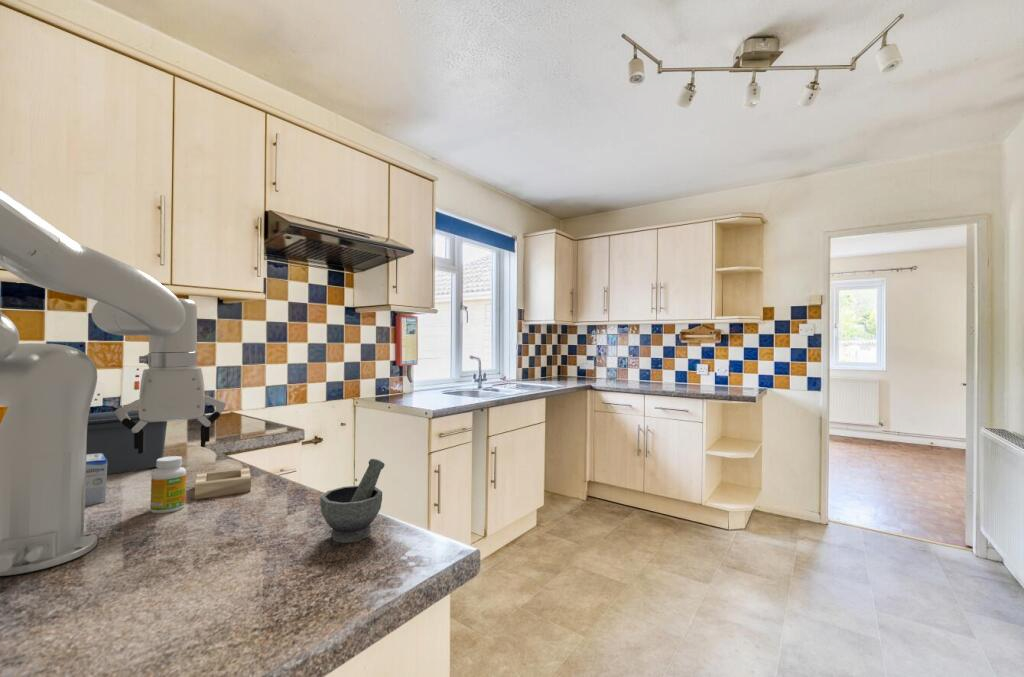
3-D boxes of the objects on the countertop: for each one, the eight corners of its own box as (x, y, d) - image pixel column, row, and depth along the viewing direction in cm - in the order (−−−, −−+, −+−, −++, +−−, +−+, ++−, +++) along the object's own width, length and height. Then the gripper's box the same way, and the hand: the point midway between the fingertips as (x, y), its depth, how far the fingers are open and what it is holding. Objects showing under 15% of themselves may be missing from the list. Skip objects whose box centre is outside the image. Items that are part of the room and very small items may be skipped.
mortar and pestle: (342, 553, 70) (343, 475, 70) (308, 537, 75) (310, 465, 75) (398, 529, 79) (400, 460, 79) (365, 517, 84) (366, 452, 85)
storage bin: (60, 486, 101) (62, 421, 101) (51, 473, 110) (53, 414, 111) (176, 467, 117) (177, 411, 117) (159, 457, 127) (160, 406, 127)
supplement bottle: (166, 515, 84) (167, 462, 84) (142, 512, 85) (144, 460, 85) (192, 505, 89) (193, 456, 90) (169, 503, 91) (171, 454, 91)
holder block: (250, 491, 98) (251, 477, 98) (194, 499, 93) (194, 484, 93) (248, 479, 107) (249, 467, 107) (197, 486, 101) (197, 472, 101)
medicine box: (72, 498, 93) (74, 455, 93) (101, 493, 96) (103, 452, 96) (75, 507, 87) (77, 462, 88) (106, 502, 91) (107, 458, 91)
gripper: (110, 363, 80) (110, 459, 81) (225, 361, 90) (225, 447, 90) (119, 361, 87) (119, 450, 87) (225, 359, 96) (225, 439, 96)
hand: (173, 448), depth 88 cm, fingers open, 9 cm apart
